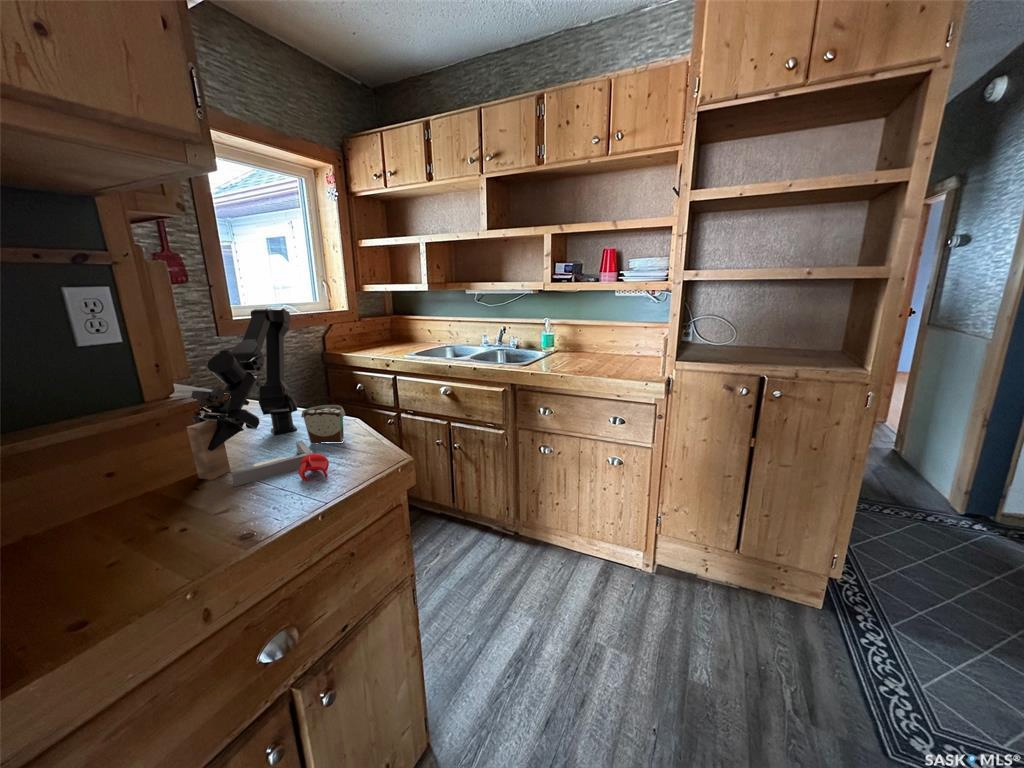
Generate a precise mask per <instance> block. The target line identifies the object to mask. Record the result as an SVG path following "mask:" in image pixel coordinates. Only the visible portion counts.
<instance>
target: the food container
mask: <svg viewBox="0 0 1024 768" xmlns="http://www.w3.org/2000/svg"><path fill="white" fill-rule="evenodd" d="M345 416H346V412H345V410H344V408H343V407H342V405H337V404H325V405H318V406H313V407H309V408H306V409H302V411H301V418H303V421H304V424H305V427H306V428H305V429H306V431H307V434H308V439H309V443H310V444H311V443H321V442H342V441H343V439H344V436H345V435H344V417H345ZM344 440H345V439H344Z"/></svg>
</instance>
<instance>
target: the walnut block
mask: <svg viewBox="0 0 1024 768" xmlns="http://www.w3.org/2000/svg"><path fill="white" fill-rule="evenodd" d="M216 429H217V421H210V420H207V421H204V422H201V423H198V424H196V423H195V424H192V425H189V426H186V431H187V435H188V439H189V444H190V448H191V451H192V456H193V459H194V461H193V462H194V464H195V469H196V472H197V477H198V479H202V480H209V481H210V480H214V479H216V478H218V477H220V476H223V475H225V474H227V473H229V472H231V467H230V463H229V462H230V461H229V457H228V453H227V448H226V444H225V442H224V443H223V444H221V445H220V446H218V447H217V448H216V449H214V450H213V451H210V450H208V447H209V444H210V442H211V440H212V438H213V436H214V434H215V431H216Z"/></svg>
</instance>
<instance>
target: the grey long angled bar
mask: <svg viewBox="0 0 1024 768" xmlns="http://www.w3.org/2000/svg"><path fill="white" fill-rule="evenodd" d="M295 444H296V450H297V453H298V455H295V456H290V457H288V458H287V457H286V458H285V456H281V457H276V458H273V459H270V460H266V461H261V462H257V463H253V464H252V467H248V468H247V467H246V468H243V469H240V470H236V471H233V472H230V473H231V477H232V479H231V480H232V482H233V486H234V488H235V487H239V486H242V485H245V484H250V483H253V482H257V481H261V480H265V479H268V478H272V477H276V476H279V475H282V474H286V473H290V472H293V471H294V472H295V471H297V470H299V467H300V466H301V465H300V464H301V461H302V459H303V458H304V457H306V456H307V455H310V454H314V452H313V451H312V450H311V449H310V448H309V447H308V445H307V444H306V443H305V442H304V441H303V440H298V441H295Z"/></svg>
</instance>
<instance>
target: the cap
mask: <svg viewBox="0 0 1024 768" xmlns="http://www.w3.org/2000/svg"><path fill="white" fill-rule="evenodd" d="M300 465H301V466H300V467H299V469H297V470H298V476H299V477H300V479H302V481H305V482H309V480H310V479H309V477H308V476H306V473H307V472H318V471H321V472H322V474H323V476H324V477H325V478H328V472H327V471H328V470H329V465H330V462H329V459H328V458H327V457H326V456H325V455H322V454H320V453H313V454H310V455H307V456H306V457H304V458H303V459H302V461H301V464H300Z"/></svg>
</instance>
